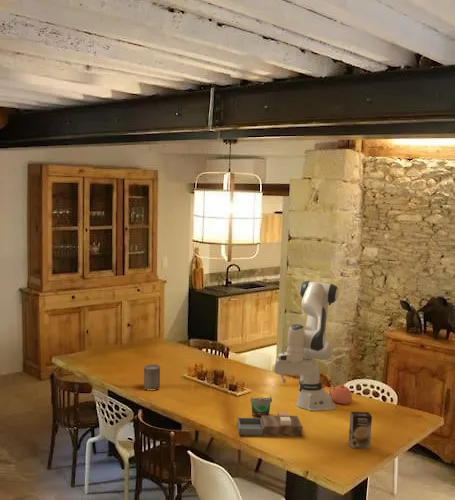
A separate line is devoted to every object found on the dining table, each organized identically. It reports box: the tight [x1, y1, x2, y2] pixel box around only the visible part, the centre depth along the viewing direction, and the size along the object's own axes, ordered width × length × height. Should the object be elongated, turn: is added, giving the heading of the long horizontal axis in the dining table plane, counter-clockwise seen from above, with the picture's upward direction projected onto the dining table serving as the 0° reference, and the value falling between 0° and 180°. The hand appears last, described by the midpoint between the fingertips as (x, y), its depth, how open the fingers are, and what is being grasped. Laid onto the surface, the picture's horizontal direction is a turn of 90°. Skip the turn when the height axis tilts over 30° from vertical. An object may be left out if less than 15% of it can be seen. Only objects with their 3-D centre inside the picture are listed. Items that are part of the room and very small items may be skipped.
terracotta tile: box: [277, 411, 290, 420], centre depth 308 cm, size 5×5×2 cm
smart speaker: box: [143, 364, 161, 390], centre depth 364 cm, size 10×10×15 cm
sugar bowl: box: [328, 384, 353, 405], centre depth 351 cm, size 12×14×10 cm
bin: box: [236, 417, 265, 437], centre depth 304 cm, size 12×15×4 cm
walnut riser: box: [261, 414, 303, 437], centre depth 304 cm, size 19×15×5 cm
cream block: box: [280, 417, 291, 425], centre depth 301 cm, size 5×5×2 cm
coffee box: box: [348, 411, 373, 449], centre depth 288 cm, size 9×6×16 cm
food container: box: [249, 396, 273, 418], centre depth 323 cm, size 12×6×10 cm, turn 105°
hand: (293, 383), depth 306 cm, fingers open, 8 cm apart
